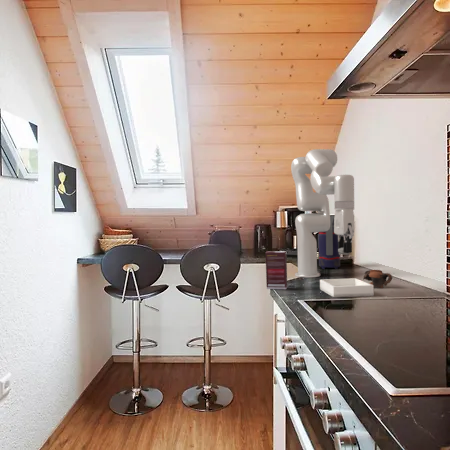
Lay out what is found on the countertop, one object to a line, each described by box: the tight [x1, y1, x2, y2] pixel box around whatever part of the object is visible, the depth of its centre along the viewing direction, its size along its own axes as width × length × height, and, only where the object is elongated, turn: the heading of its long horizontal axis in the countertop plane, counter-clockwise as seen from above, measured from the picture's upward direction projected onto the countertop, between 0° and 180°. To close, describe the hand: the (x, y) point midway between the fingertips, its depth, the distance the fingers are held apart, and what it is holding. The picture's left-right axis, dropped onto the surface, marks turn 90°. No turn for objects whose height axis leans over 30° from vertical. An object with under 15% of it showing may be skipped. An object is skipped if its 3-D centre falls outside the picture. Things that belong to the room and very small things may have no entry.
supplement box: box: [265, 250, 288, 290], centre depth 160 cm, size 9×5×16 cm, turn 75°
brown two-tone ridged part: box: [362, 269, 393, 289], centre depth 160 cm, size 12×10×8 cm
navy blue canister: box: [318, 215, 341, 270], centre depth 214 cm, size 14×12×30 cm
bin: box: [319, 277, 375, 298], centre depth 150 cm, size 16×16×4 cm
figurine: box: [338, 242, 351, 256], centre depth 149 cm, size 5×4×6 cm
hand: (344, 251), depth 149 cm, fingers closed on figurine, 4 cm apart
